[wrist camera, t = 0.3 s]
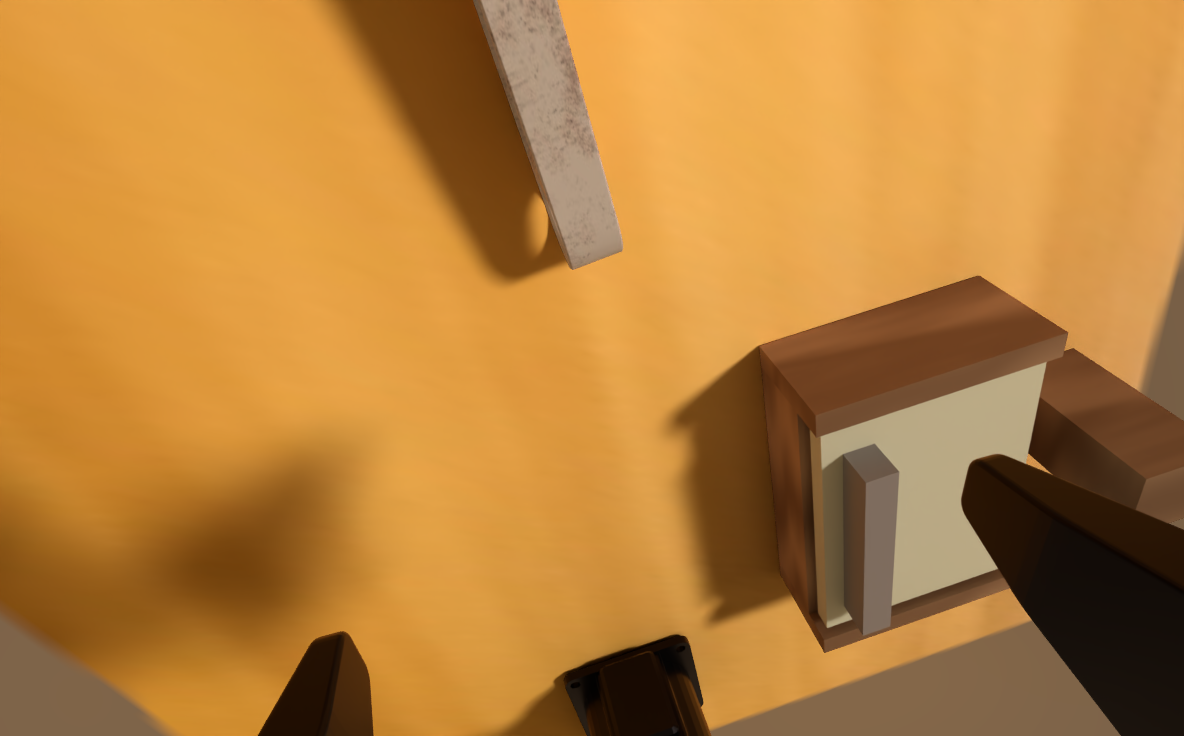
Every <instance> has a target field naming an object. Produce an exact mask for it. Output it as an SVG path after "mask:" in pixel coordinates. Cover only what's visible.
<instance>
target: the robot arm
mask: <svg viewBox="0 0 1184 736" xmlns="http://www.w3.org/2000/svg"><path fill="white" fill-rule="evenodd" d="M961 506H962V510H963V512H964V515H965V516H966V518H967V520H968V521H969V523H970V525H971V526H972V528H973V529H974V531H975V533H976V534H977V536H978V537H979V539H980V541H981V542H982V544H983V546H984V547H985V549H986V550H987V552H988V554H989V555H990V557H991V558H992V560H993V562H994V563H995V565H996V566H997V568H998V570H999V571H1000V573H1001V574H1002V576H1003V578H1004V579H1005V581H1006V582H1007V584H1008V586H1009V587H1010V589H1011V590H1012V592H1013V594H1014V595H1015V597H1016V598H1017V600H1018V601H1019V603H1020V604H1021V606H1022V607H1023V608H1024V610H1025V611H1026V612H1027V614H1028V615H1029V617H1030V618H1031V619H1032V621H1033V622H1034V623H1035V625H1036V626H1037V627H1038V628H1039V630H1040V631H1041V632H1042V634H1043V635H1044V636H1045V637H1046V639H1047V640H1048V641H1049V643H1050V644H1051V645H1052V647H1053V648H1054V649H1055V651H1056V652H1057V653H1058V654H1059V656H1060V657H1061V658H1062V660H1063V661H1064V662H1065V664H1066V665H1067V666H1068V667H1069V669H1070V670H1071V671H1072V673H1073V674H1074V675H1075V677H1076V678H1077V679H1078V680H1079V682H1080V683H1081V684H1082V685H1083V687H1084V688H1085V689H1086V691H1087V692H1088V693H1089V695H1090V696H1091V697H1092V699H1093V700H1094V701H1095V702H1096V704H1097V705H1098V706H1099V708H1100V709H1101V710H1102V712H1103V713H1104V714H1105V716H1106V717H1107V718H1108V719H1109V721H1110V722H1111V723H1112V725H1113V726H1114V727H1115V729H1116V730H1117V731H1118V732H1119V734H1120V735H1121V736H1184V530H1183V529H1181V528H1178V527H1176V526H1174V525H1171V524H1169V523H1166V522H1164V521H1162V520H1159V519H1157V518H1154V517H1152V516H1150V515H1147V514H1145V513H1143V512H1140V511H1138V510H1135V509H1133V508H1131V507H1128V506H1126V505H1123V504H1121V503H1119V502H1116V501H1114V500H1111V499H1109V498H1107V497H1104V496H1102V495H1099V494H1097V493H1095V492H1092V491H1090V490H1087V489H1085V488H1083V487H1080V486H1078V485H1076V484H1073V483H1071V482H1068V481H1066V480H1064V479H1061V478H1059V477H1056V476H1054V475H1052V474H1049V473H1047V472H1044V471H1042V470H1040V469H1037V468H1035V467H1032V466H1030V465H1028V464H1025V463H1023V462H1020V461H1018V460H1016V459H1013V458H1011V457H1009V456H1006V455H1003V454H992V455H989V456H985V457H981V458H978V459H975V460H973V461H972V462H971V463H970V464H969V467H968V470H967V475H966V479H965V483H964V487H963V492H962V496H961ZM564 682H565V687H566V690H567V692H568V694H569V697H570V699H571V701H572V703H573V706H574V708H575V710H576V712H577V714H578V717H579V719H580V721H581V723H582V726H583V728H584V730H585V732H586V734H587V736H711V733H710V731H709V728H708V725H707V722H706V720H705V717H704V714H703V712H702V709H701V706H702V705H703V698H702V694H701V690H700V686H699V681H698V677H697V673H696V669H695V665H694V660H693V656H692V652H691V648H690V644H689V642H688V639H687V638H686V637H685V636H677V637H674V638H671V639H668V640H665V641H662V642H659V643H656V644H653V645H651V646H648V647H645V648H642V649H639V650H636V651H633V652H630V653H627V654H624V655H621V656H619V657H616V658H613V659H610V660H607V661H604V662H601V663H598V664H595V665H592V666H589V667H586V668H584V669H581V670H578V671H575V672H572V673H570V674H568V675H567V676H565V678H564ZM258 736H373V720H372V705H371V689H370V679H369V673H368V670H367V667H366V664H365V662H364V661H363V659H362V657H361V655H360V653H359V651H358V650H357V648H356V646H355V644H354V642H353V640H352V639H351V637H350V635H349V634H348V633H346V632H344V631H342V632H341V631H340V632H337V633H333V634H329V635H326V636H322V637H319V638H317V639H315V640H314V641H313V642H312V643H311V644H310V646H309V648H308V649H307V651H306V653H305V654H304V656H303V658H302V660H301V661H300V663H299V665H298V667H297V668H296V670H295V672H294V674H293V675H292V677H291V679H290V680H289V682H288V684H287V686H286V687H285V689H284V691H283V693H282V694H281V696H280V698H279V700H278V701H277V703H276V705H275V707H274V708H273V710H272V712H271V713H270V715H269V717H268V719H267V720H266V722H265V724H264V726H263V727H262V729H261V731H260V733H259V734H258Z"/></svg>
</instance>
